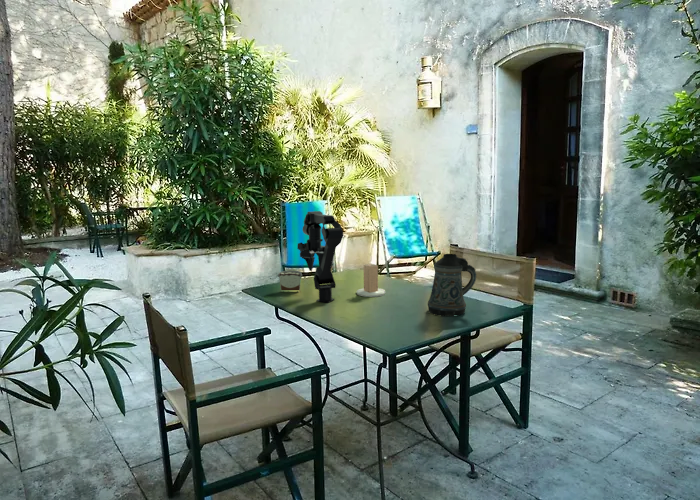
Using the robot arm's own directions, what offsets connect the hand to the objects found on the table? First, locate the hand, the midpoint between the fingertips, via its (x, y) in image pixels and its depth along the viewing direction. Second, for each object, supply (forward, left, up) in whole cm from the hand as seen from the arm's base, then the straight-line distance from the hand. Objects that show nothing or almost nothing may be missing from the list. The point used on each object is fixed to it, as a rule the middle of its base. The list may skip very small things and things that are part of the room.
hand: (315, 268), depth 271 cm
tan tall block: (+14, -23, -12) cm, 29 cm away
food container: (+2, +16, -13) cm, 21 cm away
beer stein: (0, -68, -13) cm, 69 cm away
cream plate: (+14, -23, -13) cm, 30 cm away
